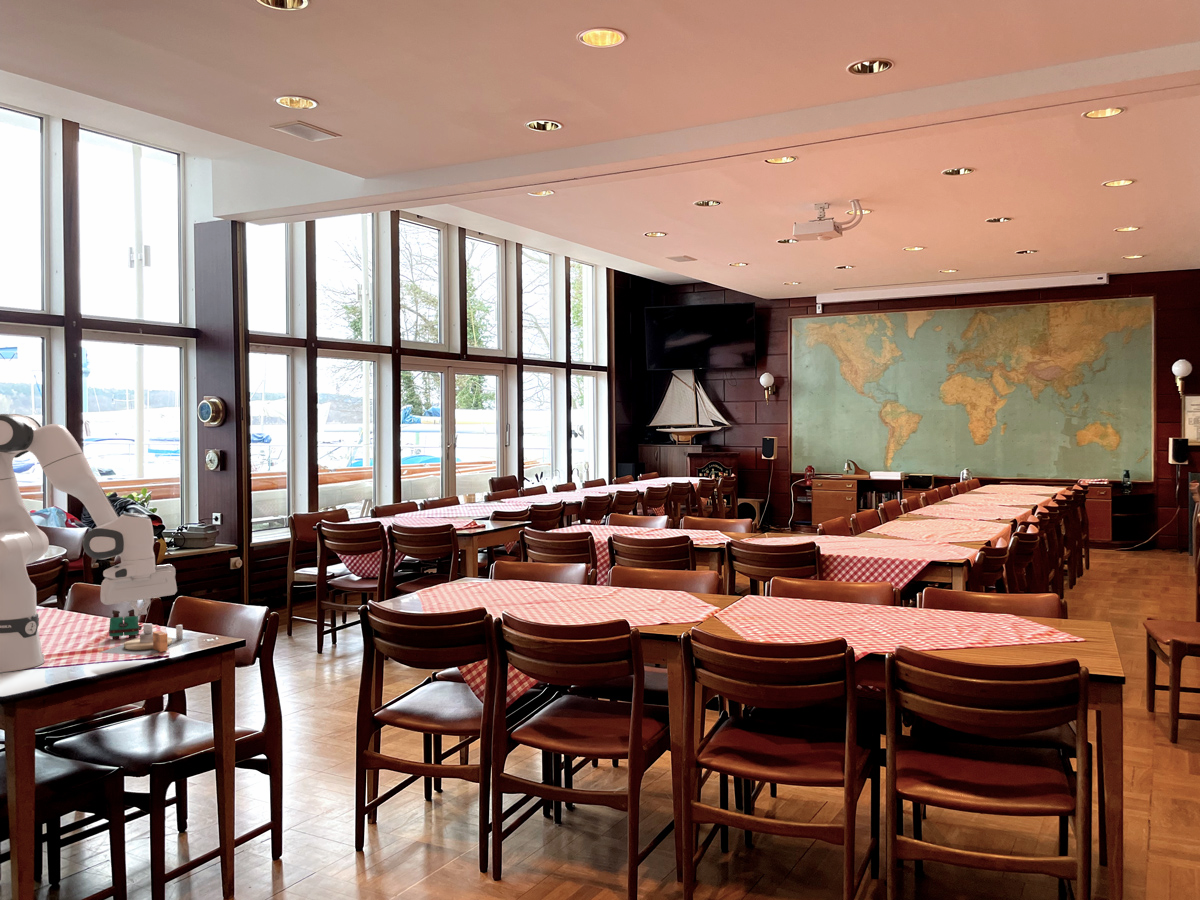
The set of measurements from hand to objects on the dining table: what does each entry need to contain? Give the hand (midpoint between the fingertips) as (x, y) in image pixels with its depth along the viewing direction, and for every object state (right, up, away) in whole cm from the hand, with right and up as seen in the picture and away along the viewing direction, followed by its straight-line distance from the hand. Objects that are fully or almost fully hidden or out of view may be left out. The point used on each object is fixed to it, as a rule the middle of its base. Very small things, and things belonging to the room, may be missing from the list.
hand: (140, 615), depth 260 cm
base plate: (-3, -13, +10) cm, 16 cm away
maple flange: (-1, -11, +8) cm, 13 cm away
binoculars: (-16, -13, +22) cm, 30 cm away
